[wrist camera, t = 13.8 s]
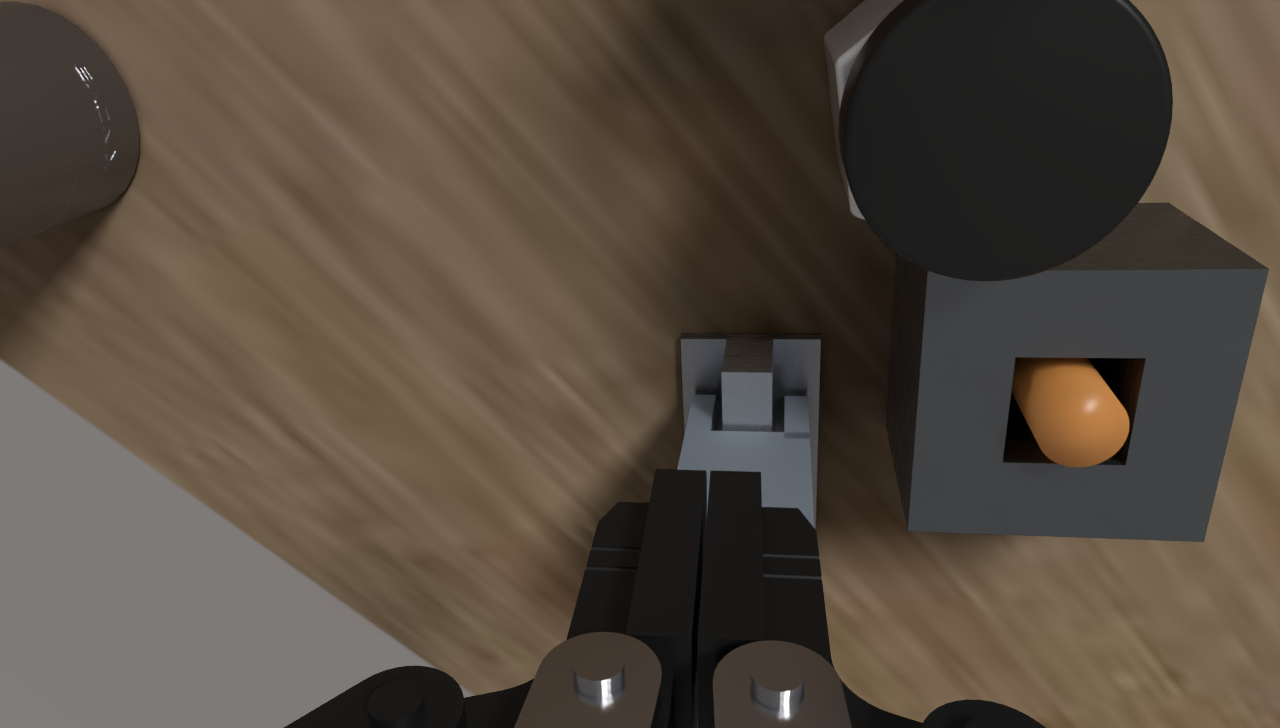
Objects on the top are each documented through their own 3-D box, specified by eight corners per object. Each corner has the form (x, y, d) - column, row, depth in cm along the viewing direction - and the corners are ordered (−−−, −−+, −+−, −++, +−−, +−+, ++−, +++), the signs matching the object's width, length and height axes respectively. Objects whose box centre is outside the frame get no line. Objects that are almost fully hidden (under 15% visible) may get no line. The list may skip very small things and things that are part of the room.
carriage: (695, 472, 42) (669, 622, 32) (693, 394, 40) (664, 528, 31) (806, 475, 41) (812, 630, 31) (808, 396, 39) (814, 534, 30)
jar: (897, 231, 37) (944, 348, 26) (773, 71, 35) (767, 125, 24) (1104, 84, 33) (1257, 147, 22) (979, -102, 31) (1079, -130, 21)
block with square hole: (886, 427, 40) (907, 530, 33) (899, 207, 36) (927, 271, 29) (1131, 432, 39) (1209, 542, 31) (1174, 202, 35) (1276, 268, 27)
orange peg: (984, 366, 37) (1031, 466, 30) (990, 302, 36) (1042, 390, 29) (1056, 367, 37) (1121, 468, 29) (1065, 302, 36) (1136, 391, 28)
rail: (697, 695, 48) (689, 754, 45) (682, 333, 40) (671, 371, 36) (810, 702, 47) (812, 764, 44) (820, 334, 39) (823, 373, 35)
